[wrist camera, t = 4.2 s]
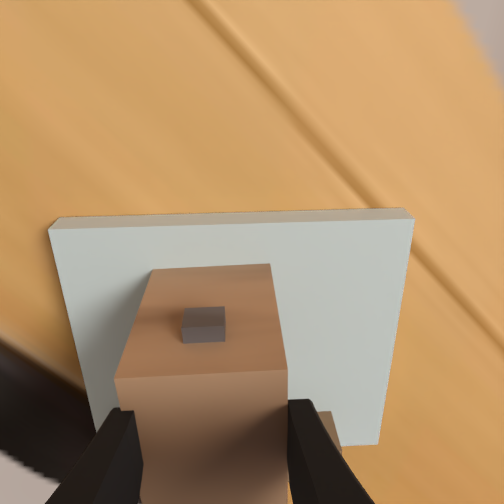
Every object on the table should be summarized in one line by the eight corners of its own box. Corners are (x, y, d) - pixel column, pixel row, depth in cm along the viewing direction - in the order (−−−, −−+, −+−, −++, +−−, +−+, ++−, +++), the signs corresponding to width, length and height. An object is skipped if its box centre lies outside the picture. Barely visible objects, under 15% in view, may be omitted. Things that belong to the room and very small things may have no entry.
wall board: (370, 425, 22) (392, 485, 19) (108, 437, 22) (89, 501, 19) (403, 207, 17) (441, 243, 14) (59, 217, 17) (21, 256, 14)
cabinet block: (271, 373, 19) (287, 505, 14) (169, 379, 19) (144, 514, 13) (269, 250, 16) (288, 352, 11) (150, 256, 16) (109, 361, 11)
